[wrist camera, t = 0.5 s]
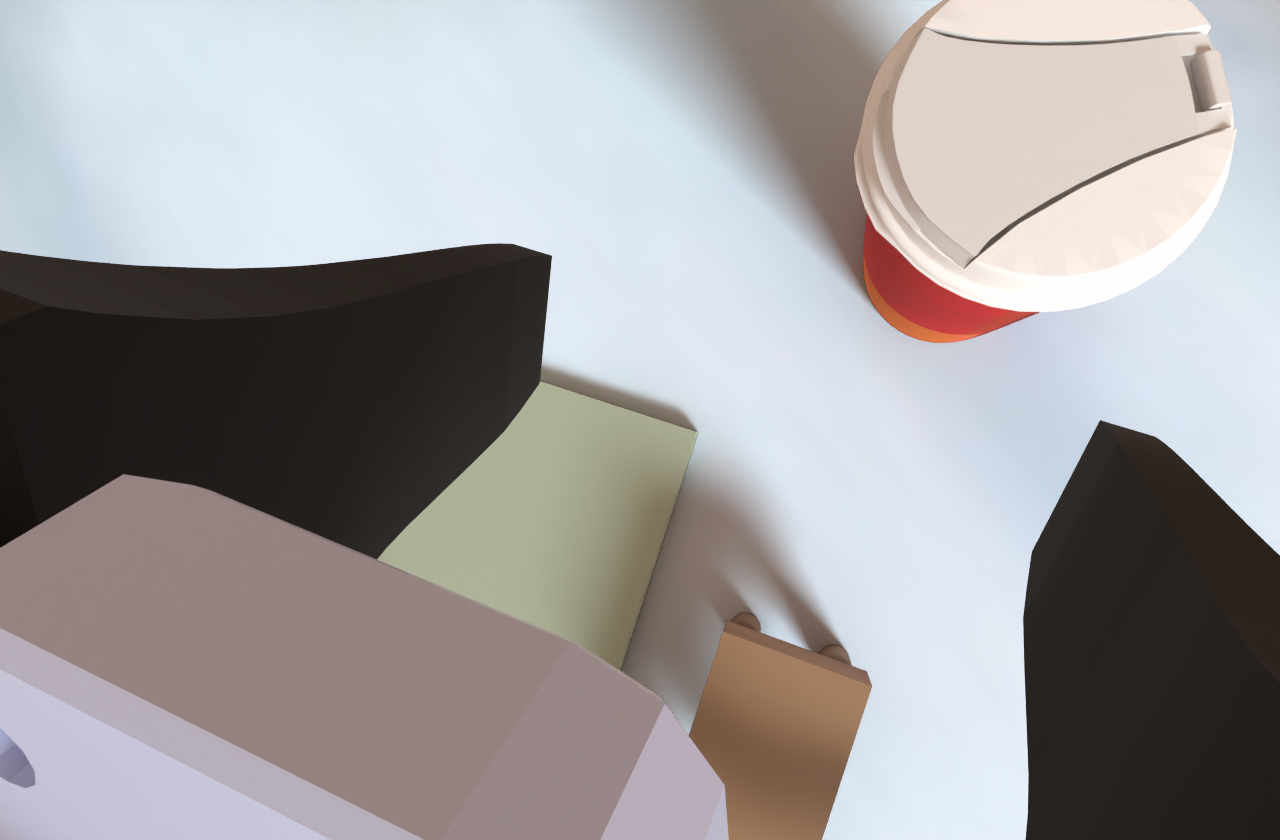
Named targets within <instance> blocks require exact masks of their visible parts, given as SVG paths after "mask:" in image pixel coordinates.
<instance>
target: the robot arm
mask: <svg viewBox="0 0 1280 840" xmlns="http://www.w3.org/2000/svg"><path fill="white" fill-rule="evenodd" d="M551 260H552V256H551V255H547V254H544V253H541V252H537V251H534V250H531V249H527V248H524V247H521V246H517V245H514V244H481V245H471V246H462V247H454V248H447V249H439V250H432V251H425V252H418V253H411V254H404V255H397V256H390V257H382V258H373V259H364V260H355V261H346V262H337V263H328V264H319V265H307V266H292V267H273V268H237V269H214V268H186V267H159V266H135V265H122V264H110V263H99V262H88V261H78V260H70V259H61V258H52V257H44V256H36V255H28V254H21V253H14V252H7V251H1V250H0V840H729V837H728V824H727V811H726V798H725V785H724V784H723V782H722V781H721V780H720V778H719V777H718V775H717V774H716V773H715V771H714V770H713V769H712V767H711V766H710V764H709V763H708V762H707V760H706V759H705V758H704V756H703V755H702V754H701V752H700V751H699V749H698V748H697V747H696V745H695V744H694V743H693V741H692V740H691V738H690V737H689V736H688V734H687V733H686V732H685V730H684V729H683V728H682V726H681V725H680V723H679V722H678V721H677V719H676V718H675V717H674V715H673V714H672V712H671V711H670V710H669V708H668V707H667V706H666V704H665V703H664V702H663V700H662V699H661V697H660V696H659V695H657V694H656V693H654V692H652V691H651V690H649V689H648V688H646V687H645V686H643V685H642V684H640V683H638V682H637V681H635V680H634V679H632V678H631V677H629V676H627V675H626V674H624V673H623V672H621V671H620V670H618V669H617V668H615V667H613V666H612V665H610V664H609V663H607V662H606V661H604V660H603V659H601V658H599V657H598V656H596V655H595V654H593V653H592V652H590V651H589V650H587V649H585V648H584V647H582V646H581V645H579V644H578V643H576V642H574V641H571V640H569V639H566V638H564V637H562V636H559V635H557V634H554V633H552V632H550V631H547V630H545V629H542V628H540V627H538V626H535V625H533V624H530V623H528V622H526V621H523V620H521V619H518V618H516V617H514V616H511V615H509V614H506V613H504V612H501V611H499V610H497V609H494V608H492V607H489V606H487V605H485V604H482V603H480V602H477V601H475V600H473V599H470V598H468V597H465V596H463V595H461V594H458V593H456V592H453V591H451V590H449V589H446V588H444V587H441V586H439V585H437V584H434V583H432V582H429V581H427V580H425V579H422V578H420V577H417V576H415V575H413V574H410V573H408V572H405V571H403V570H401V569H398V568H396V567H393V566H391V565H389V564H386V563H384V562H381V561H379V560H377V559H378V558H379V557H380V556H381V554H382V553H383V552H384V551H385V549H386V548H387V547H388V546H389V545H390V544H391V543H392V542H393V541H394V540H395V539H396V538H397V537H398V535H399V534H400V533H401V532H402V531H403V530H404V529H405V528H406V527H407V526H408V525H409V524H410V523H411V522H412V521H413V520H414V519H415V518H416V517H417V516H418V515H419V514H420V513H421V512H422V511H423V510H425V509H426V508H427V507H428V506H429V505H430V504H431V503H432V502H433V501H434V500H435V499H436V498H437V497H438V496H439V495H440V494H441V493H442V492H443V491H444V490H445V489H446V488H447V487H448V486H449V485H450V484H452V483H453V482H454V481H455V480H456V479H457V478H458V477H459V476H460V475H461V474H462V473H463V472H464V471H465V470H466V469H467V468H468V467H469V466H470V465H471V464H472V463H473V462H474V461H475V460H476V459H477V458H478V457H479V456H480V455H481V454H482V453H483V452H484V451H485V450H486V449H487V448H488V447H489V446H490V445H491V444H492V443H494V441H495V440H496V439H497V438H498V437H499V436H500V435H501V434H502V433H503V432H504V431H505V430H506V429H507V427H508V426H509V425H510V423H511V422H512V421H513V420H514V418H515V417H516V416H517V414H518V413H519V412H520V411H521V409H522V408H523V406H524V405H525V404H526V402H527V401H528V399H529V398H530V396H531V395H532V394H533V392H534V391H535V389H536V388H537V387H538V385H539V384H540V373H541V363H542V353H543V342H544V332H545V322H546V311H547V301H548V291H549V280H550V270H551ZM1023 626H1024V665H1025V693H1026V718H1027V745H1028V771H1029V786H1028V819H1027V831H1026V840H1280V555H1279V554H1277V553H1276V552H1275V551H1274V550H1273V549H1272V548H1271V547H1270V546H1269V545H1268V544H1267V543H1266V542H1265V541H1264V540H1263V539H1262V538H1261V537H1260V536H1259V535H1258V534H1257V533H1256V532H1255V531H1254V530H1252V529H1251V528H1250V527H1249V526H1248V525H1247V524H1246V523H1245V522H1244V521H1243V520H1242V519H1241V518H1240V517H1239V516H1238V515H1237V514H1236V513H1235V512H1234V511H1233V510H1232V509H1231V508H1230V507H1229V506H1228V505H1227V504H1226V503H1225V502H1224V501H1223V499H1222V498H1221V497H1220V496H1219V495H1218V494H1217V493H1216V492H1215V491H1214V490H1213V489H1212V488H1211V487H1210V486H1209V485H1208V484H1207V483H1206V482H1205V481H1204V480H1203V479H1202V478H1201V477H1200V476H1199V475H1198V474H1197V473H1196V472H1195V471H1194V470H1193V469H1192V468H1191V467H1190V466H1189V465H1188V464H1187V463H1186V462H1185V461H1184V460H1183V459H1181V458H1180V457H1179V456H1178V455H1177V454H1176V453H1175V452H1174V451H1173V450H1172V449H1171V448H1169V447H1168V446H1167V445H1166V444H1165V443H1163V442H1162V441H1161V440H1159V439H1158V438H1156V437H1154V436H1151V435H1147V434H1144V433H1141V432H1137V431H1134V430H1131V429H1127V428H1124V427H1121V426H1117V425H1114V424H1111V423H1107V422H1104V421H1101V420H1100V422H1099V424H1098V425H1097V427H1096V429H1095V431H1094V433H1093V435H1092V437H1091V439H1090V441H1089V443H1088V445H1087V447H1086V449H1085V450H1084V452H1083V454H1082V456H1081V458H1080V460H1079V462H1078V464H1077V466H1076V468H1075V470H1074V472H1073V474H1072V476H1071V477H1070V479H1069V481H1068V483H1067V485H1066V487H1065V489H1064V491H1063V493H1062V495H1061V497H1060V499H1059V501H1058V503H1057V504H1056V506H1055V508H1054V510H1053V512H1052V514H1051V516H1050V518H1049V520H1048V522H1047V524H1046V526H1045V528H1044V530H1043V531H1042V533H1041V535H1040V537H1039V539H1038V541H1037V543H1036V545H1035V547H1034V549H1033V551H1032V555H1031V562H1030V569H1029V576H1028V583H1027V591H1026V599H1025V608H1024V617H1023Z"/></svg>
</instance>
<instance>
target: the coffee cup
mask: <svg viewBox="0 0 1280 840" xmlns="http://www.w3.org/2000/svg"><path fill="white" fill-rule="evenodd" d="M1210 28H1211V26H1210V24H1209V23H1208V21H1207V20H1206V19H1205V18H1204V16H1203V15H1202V14H1201V13H1200V12H1199V10H1198V9H1197V8H1196V7H1195V6H1194V5H1193V4H1192V3H1191V2H1190V1H1188V0H943V1H941V2H940V3H939V4H937V5H936V6H934V7H933V8H931V9H930V10H929V11H927V12H926V13H925V14H924V15H923V16H922V17H921V18H920V19H919V20H917V21H916V22H915V23H914V24H913V25H912V26H911V27H910V28H909V29H908V30H907V31H906V32H905V33H904V34H903V36H902V37H901V38H900V40H899V41H898V42H897V43H896V45H895V46H894V47H893V49H892V50H891V51H890V52H889V54H888V56H887V57H886V59H885V61H884V63H883V64H882V66H881V68H880V70H879V71H878V73H877V75H876V77H875V80H874V82H873V85H872V88H871V90H870V93H869V96H868V98H867V101H866V105H865V110H864V115H863V120H862V125H861V129H860V133H859V137H858V141H857V144H856V148H855V152H854V164H855V172H856V180H857V184H858V188H859V191H860V194H861V198H862V201H863V204H864V207H865V209H866V211H867V214H866V225H865V237H864V252H863V271H864V279H865V285H866V289H867V292H868V295H869V297H870V299H871V301H872V303H873V305H874V307H875V308H876V310H877V311H878V312H879V314H880V315H881V316H882V317H883V318H884V319H885V320H886V321H887V322H888V323H889V324H890V325H891V326H893V327H894V328H895V329H897V330H898V331H900V332H902V333H904V334H906V335H908V336H910V337H913V338H915V339H918V340H922V341H927V342H933V343H950V342H958V341H963V340H967V339H971V338H974V337H977V336H980V335H983V334H986V333H989V332H991V331H994V330H997V329H999V328H1002V327H1004V326H1007V325H1009V324H1012V323H1014V322H1017V321H1019V320H1022V319H1024V318H1027V317H1029V316H1032V315H1034V314H1037V313H1039V312H1053V311H1061V310H1069V309H1077V308H1081V307H1085V306H1088V305H1092V304H1096V303H1099V302H1103V301H1106V300H1109V299H1111V298H1113V297H1116V296H1118V295H1120V294H1122V293H1125V292H1127V291H1129V290H1131V289H1134V288H1136V287H1137V286H1139V285H1140V284H1142V283H1144V282H1145V281H1147V280H1148V279H1150V278H1151V277H1153V276H1154V275H1156V274H1158V273H1159V272H1161V271H1162V270H1163V269H1164V268H1165V267H1167V266H1168V265H1169V264H1170V263H1171V262H1172V261H1173V260H1175V259H1176V258H1177V257H1178V256H1179V255H1180V254H1181V253H1182V252H1184V250H1185V249H1186V248H1187V247H1188V246H1189V244H1190V243H1191V242H1192V241H1193V240H1194V238H1195V237H1196V236H1197V235H1198V234H1199V232H1200V231H1201V230H1202V229H1203V227H1204V225H1205V224H1206V222H1207V220H1208V219H1209V217H1210V215H1211V214H1212V212H1213V210H1214V209H1215V207H1216V205H1217V203H1218V201H1219V198H1220V196H1221V193H1222V190H1223V188H1224V185H1225V182H1226V180H1227V177H1228V173H1229V168H1230V163H1231V158H1232V153H1233V145H1234V140H1235V135H1236V130H1237V129H1236V128H1234V119H1233V112H1232V106H1231V104H1232V100H1231V96H1230V92H1229V88H1228V84H1227V80H1226V76H1225V72H1224V68H1223V64H1222V60H1221V56H1220V52H1219V50H1213V48H1212V46H1211V44H1210V40H1209V36H1208V35H1207V33H1208V31H1209V30H1210Z"/></svg>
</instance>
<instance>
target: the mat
mask: <svg viewBox="0 0 1280 840" xmlns="http://www.w3.org/2000/svg"><path fill="white" fill-rule="evenodd" d="M697 435H698V432H695V431H692V430H689V429H686V428H683V427H680V426H677V425H674V424H671V423H668V422H664V421H661V420H658V419H655V418H652V417H649V416H646V415H643V414H640V413H637V412H634V411H631V410H628V409H624V408H621V407H618V406H615V405H612V404H609V403H606V402H603V401H600V400H597V399H594V398H591V397H588V396H584V395H581V394H578V393H575V392H572V391H569V390H566V389H563V388H560V387H557V386H554V385H551V384H548V383H544V382H541V381H540V384H539V385H538V387H537V388H536V389H535V391H534V392H533V394H532V395H531V396H530V398H529V399H528V401H527V402H526V404H525V405H524V406H523V408H522V409H521V411H520V412H519V413H518V414H517V416H516V417H515V418H514V420H513V421H512V422H511V423H510V425H509V426H508V427H507V429H506V430H505V431H504V432H503V433H502V434H501V435H500V436H499V437H498V438H497V439H496V440H495V441H494V443H492V444H491V445H490V446H489V447H488V448H487V449H486V450H485V451H484V452H483V453H482V454H481V455H480V456H479V457H478V458H477V459H476V460H475V461H474V462H473V463H472V464H471V465H470V466H469V467H468V468H467V469H466V470H465V471H464V472H463V473H462V474H461V475H460V476H459V477H458V478H457V479H456V480H455V481H454V482H453V483H452V484H450V485H449V486H448V487H447V488H446V489H445V490H444V491H443V492H442V493H441V494H440V495H439V496H438V497H437V498H436V499H435V500H434V501H433V502H432V503H431V504H430V505H429V506H428V507H427V508H426V509H425V510H423V511H422V512H421V513H420V514H419V515H418V516H417V517H416V518H415V519H414V520H413V521H412V522H411V523H410V524H409V525H408V526H407V527H406V528H405V529H404V530H403V531H402V532H401V533H400V534H399V535H398V537H397V538H396V539H395V540H394V541H393V542H392V543H391V544H390V545H389V546H388V547H387V548H386V549H385V551H384V552H383V553H382V554H381V556H380V557H379V558H378V559H377V560H379V561H381V562H384V563H386V564H389V565H391V566H393V567H396V568H398V569H401V570H403V571H405V572H408V573H410V574H413V575H415V576H417V577H420V578H422V579H425V580H427V581H429V582H432V583H434V584H437V585H439V586H441V587H444V588H446V589H449V590H451V591H453V592H456V593H458V594H461V595H463V596H465V597H468V598H470V599H473V600H475V601H477V602H480V603H482V604H485V605H487V606H489V607H492V608H494V609H497V610H499V611H501V612H504V613H506V614H509V615H511V616H514V617H516V618H518V619H521V620H523V621H526V622H528V623H530V624H533V625H535V626H538V627H540V628H542V629H545V630H547V631H550V632H552V633H554V634H557V635H559V636H562V637H564V638H566V639H569V640H571V641H574V642H576V643H578V644H579V645H581V646H582V647H584V648H585V649H587V650H589V651H590V652H592V653H593V654H595V655H596V656H598V657H599V658H601V659H603V660H604V661H606V662H607V663H609V664H610V665H612V666H613V667H615V668H617V669H618V670H620V671H621V668H622V665H623V662H624V659H625V656H626V653H627V650H628V647H629V644H630V641H631V638H632V635H633V631H634V628H635V625H636V622H637V619H638V616H639V613H640V610H641V607H642V604H643V601H644V598H645V595H646V592H647V589H648V585H649V582H650V579H651V576H652V573H653V570H654V567H655V564H656V561H657V558H658V555H659V552H660V549H661V546H662V542H663V539H664V536H665V533H666V530H667V527H668V524H669V521H670V518H671V515H672V512H673V509H674V506H675V503H676V499H677V496H678V493H679V490H680V487H681V484H682V481H683V478H684V475H685V472H686V469H687V466H688V463H689V460H690V457H691V453H692V450H693V447H694V444H695V441H696V438H697Z"/></svg>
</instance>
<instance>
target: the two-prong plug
mask: <svg viewBox="0 0 1280 840" xmlns="http://www.w3.org/2000/svg"><path fill="white" fill-rule="evenodd" d="M760 631H761V626H760V623H759V621H758V619H757V618H756V617H755V616H754V615H752V614H750V613H740V614H738V615H736V616H735V617H734V618H733V620H732V622H730V621H727V623H726V625H725V628H724V630H723V633H722V636H721V639H720V642H719V645H718V648H717V651H716V654H715V657H714V660H713V663H712V666H711V670H710V673H709V676H708V679H707V682H706V685H705V688H704V691H703V694H702V697H701V700H700V703H699V706H698V709H697V712H696V715H695V719H694V722H693V725H692V728H691V731H690V734H689V737H690V738H691V740H692V741H693V743H694V744H695V745H696V747H697V748H698V749H699V751H700V752H701V754H702V755H703V756H704V758H705V759H706V760H707V762H708V763H709V764H710V766H711V767H712V769H713V770H714V771H715V773H716V774H717V775H718V777H719V778H720V780H721V781H722V782H723V784H724V785H725V798H726V811H727V824H728V837H729V840H822V837H823V834H824V831H825V828H826V825H827V822H828V819H829V816H830V813H831V810H832V807H833V804H834V801H835V798H836V795H837V792H838V788H839V785H840V782H841V779H842V776H843V773H844V770H845V767H846V764H847V761H848V758H849V755H850V752H851V749H852V746H853V743H854V740H855V737H856V734H857V730H858V727H859V724H860V721H861V718H862V715H863V712H864V709H865V706H866V703H867V700H868V697H869V694H870V691H871V688H872V685H871V682H870V679H869V676H868V674H867V671H864V670H861V669H859V668H856V667H853V666H852V665H851V661H850V658H849V655H848V653H847V651H846V650H845V649H844V648H842V647H841V646H838V645H828V646H826V647H824V648H823V649H822V650H821V652H820V653H819V654H818V653H815V652H812V651H809V650H807V649H804V648H801V647H798V646H796V645H793V644H790V643H787V642H785V641H782V640H779V639H776V638H774V637H771V636H768V635H765V634H763V633H760Z"/></svg>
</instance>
